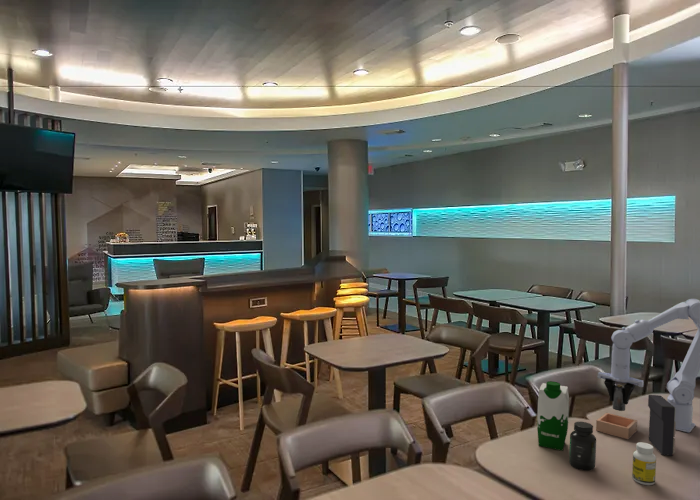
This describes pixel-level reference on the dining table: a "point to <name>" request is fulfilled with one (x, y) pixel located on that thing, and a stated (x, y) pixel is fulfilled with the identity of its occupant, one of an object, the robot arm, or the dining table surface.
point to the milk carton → (552, 415)
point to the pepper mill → (618, 397)
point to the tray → (616, 425)
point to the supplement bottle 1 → (582, 447)
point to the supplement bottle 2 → (644, 464)
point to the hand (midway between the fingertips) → (619, 402)
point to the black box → (662, 424)
